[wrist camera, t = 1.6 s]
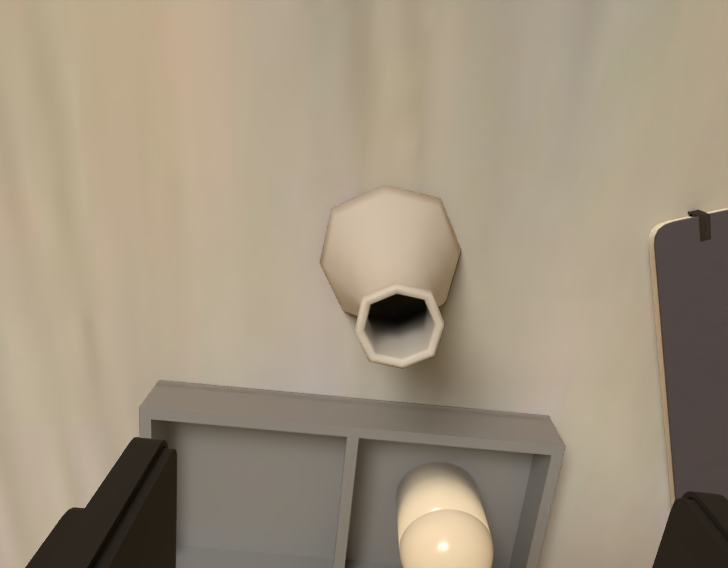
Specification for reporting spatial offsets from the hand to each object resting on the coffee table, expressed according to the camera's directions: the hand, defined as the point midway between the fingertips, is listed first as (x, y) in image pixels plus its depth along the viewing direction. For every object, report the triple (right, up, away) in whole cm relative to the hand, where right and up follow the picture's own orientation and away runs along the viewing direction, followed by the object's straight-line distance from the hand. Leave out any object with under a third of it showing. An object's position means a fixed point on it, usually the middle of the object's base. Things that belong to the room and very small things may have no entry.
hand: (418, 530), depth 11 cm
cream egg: (+3, -8, +23) cm, 25 cm away
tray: (-2, -7, +24) cm, 25 cm away
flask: (0, +6, +20) cm, 21 cm away
